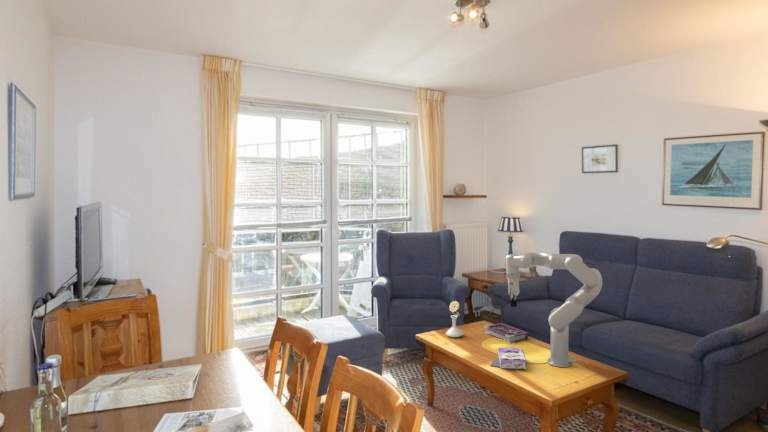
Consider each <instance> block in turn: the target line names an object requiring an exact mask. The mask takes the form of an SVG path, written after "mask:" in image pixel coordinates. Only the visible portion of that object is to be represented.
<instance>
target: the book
mask: <svg viewBox="0 0 768 432" xmlns="http://www.w3.org/2000/svg"><path fill="white" fill-rule="evenodd" d="M483 328H484V329H486V331H484V334H485V335H489V336H491V337H494V338H495V339H498V338H499V340H500V339H502V340H501V341H503V340H505V341H506V342H505V341H504V342H505V343H507V342H509V343H508V344H513V342H514V343H517V341H518V342H522V341H526V340H529V332H528V331H524V330H522V329H520V328H516V327H514V326H511V325H509V324H506V323H504V322H499V323H494V324H490V325H485V326H483Z"/></svg>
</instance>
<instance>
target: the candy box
mask: <svg viewBox="0 0 768 432" xmlns="http://www.w3.org/2000/svg"><path fill="white" fill-rule="evenodd" d="M497 351H498V353H497V354H498V355H497V356H498V357H497V358H499V361H500V367H501V368H500V369H505V368H510V369H509V370H511V369H516V370H527V359H526V356H525V352H524V350H523V348H510V347H509V348H504V347H501V348H500V347H498V349H497Z"/></svg>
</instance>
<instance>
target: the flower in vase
mask: <svg viewBox="0 0 768 432" xmlns="http://www.w3.org/2000/svg"><path fill="white" fill-rule="evenodd" d="M448 308H449V311H450V312H451V315H450V318H451V321H452V322H451V323H452V326H451V327H450V328H449V329H448V330H447V331H446V333H445V335H446V336H447V337H450V338H451V337H452V338H460V337H462V336H464V333H463V331H462V330H460V329H459V328H458V327H457V318H458V317H460V316H461V315H460V311H459V312H458V310H459V308H460V302H458V301H457V300H452V301H451V302H450V304H449V307H448ZM455 312H456V313H455ZM452 314H453V315H452Z"/></svg>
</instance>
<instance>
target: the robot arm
mask: <svg viewBox="0 0 768 432" xmlns="http://www.w3.org/2000/svg"><path fill="white" fill-rule="evenodd" d="M531 266H537V267H538V266H540V267H541V266H542V267H545V268H548V269H551V270H567V271H568V272H569V273H570V274H571V275H573V277H575V278H576V279H577V280H579V282H580V283H582V284H583V285H582V286H581V287H580V288H579V289H578V290H577V291H575V292H574V293H572V295H570V296H569V297H567V298H566V299H565V301H564V303H563V304H561V305H560V306H558V307H555V308H553V309H552V310H551V311H550V313H549V315H548V318H547V319H548V324H549V326H550V328H549V329H550V331H549V333H550V334H549V335H550V337H549V338H550V341H549V342H550V345H549V346H550V350H549V351H550V352H549V353H550V357H548V359H547V363H548V364H549V365H550V366H553V367H557V368H569V367H571V366H572V364H578V359H576V358H574V357H573V358H572V357H570V354H569V338H570V337H569V336H570V335H569V331H570V330H569V327H570V326H569V325H570V324H571V323H573V322H574V320H576V319H577V318H578V317H579V316H580V315H581V314H582V312H583V310H584V308H585V307H587V305H589V304H590V303H592V302H593V300H594V299H595V298H596V297H597V296H598V295H599V294H600V292H601V290H602V287H603V277H602V273H601V272H600V271H599V269H597V268H594V267H592V268H591V267H589V266H587V264H586V263H584V261H583V258H582V256H581V255H579V254H575V253H543V252H525V253H523V254H521V255H518V254H516V253H509V254H506V255H505V277H506V279H507V293H508V295H509V296H510V308H511V307H515V308H517V306H518V300H517V296H518V295H519V294H520V283H519V279H520V269H521V268H522V269H528V268H530V267H531Z"/></svg>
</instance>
